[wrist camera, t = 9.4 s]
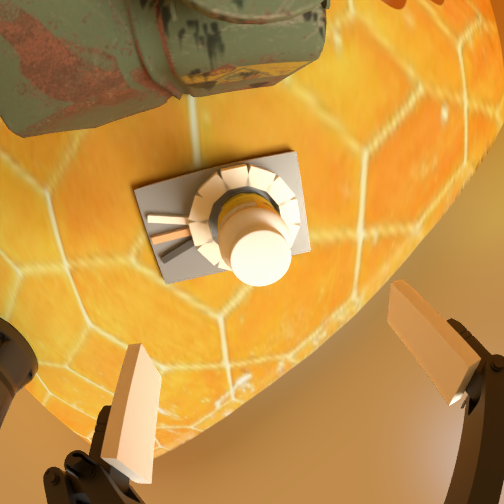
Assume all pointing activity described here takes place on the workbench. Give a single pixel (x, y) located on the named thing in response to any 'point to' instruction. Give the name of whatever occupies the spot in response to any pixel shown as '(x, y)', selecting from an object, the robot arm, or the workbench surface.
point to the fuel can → (143, 55)
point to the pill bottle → (253, 239)
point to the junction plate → (216, 211)
